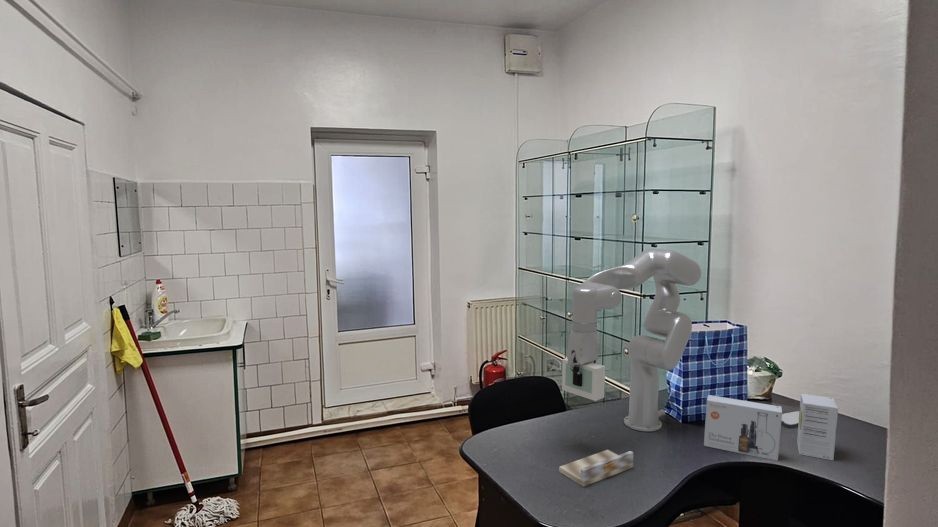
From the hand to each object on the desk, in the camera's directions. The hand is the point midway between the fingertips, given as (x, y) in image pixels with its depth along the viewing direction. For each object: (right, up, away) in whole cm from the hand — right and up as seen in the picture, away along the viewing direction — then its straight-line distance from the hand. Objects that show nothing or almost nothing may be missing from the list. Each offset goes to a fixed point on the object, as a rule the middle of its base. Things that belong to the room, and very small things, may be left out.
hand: (582, 382), depth 174 cm
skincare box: (+50, -22, +1) cm, 54 cm away
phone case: (+80, -19, +24) cm, 86 cm away
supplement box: (+73, -22, 0) cm, 76 cm away
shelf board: (+2, -23, -11) cm, 26 cm away
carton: (0, -3, 0) cm, 3 cm away
